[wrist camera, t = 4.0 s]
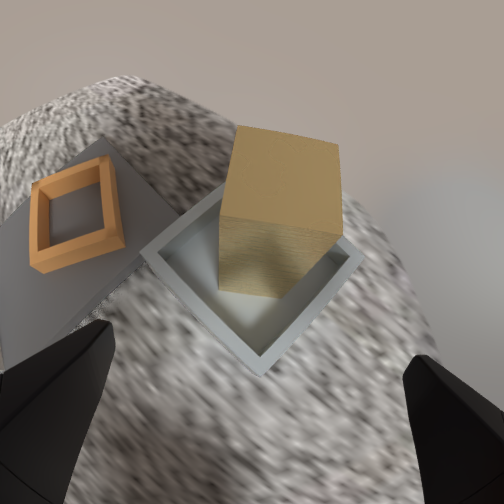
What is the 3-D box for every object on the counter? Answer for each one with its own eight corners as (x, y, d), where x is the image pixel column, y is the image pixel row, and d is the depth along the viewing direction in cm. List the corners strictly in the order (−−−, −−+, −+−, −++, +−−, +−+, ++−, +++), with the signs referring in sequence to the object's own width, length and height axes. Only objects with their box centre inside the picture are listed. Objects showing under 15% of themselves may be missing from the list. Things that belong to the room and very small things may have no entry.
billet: (281, 298, 18) (342, 235, 9) (218, 290, 18) (219, 214, 9) (285, 241, 20) (338, 144, 11) (227, 232, 20) (237, 125, 10)
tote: (342, 274, 22) (365, 256, 18) (252, 373, 18) (260, 377, 15) (249, 189, 23) (254, 159, 20) (152, 271, 20) (139, 251, 16)
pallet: (184, 227, 22) (179, 204, 18) (-13, 424, 13) (-37, 427, 10) (107, 146, 24) (97, 121, 20) (-58, 321, 15) (-79, 313, 12)
